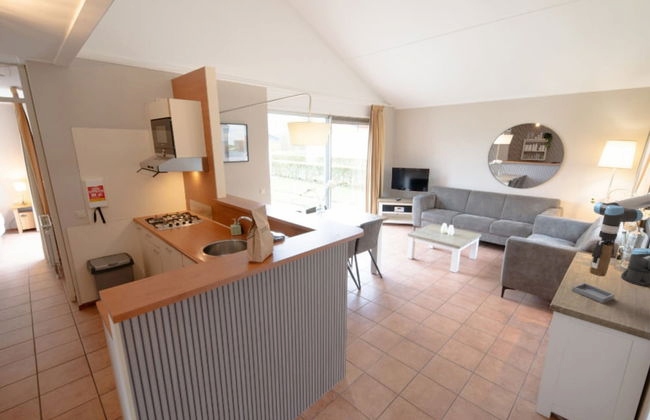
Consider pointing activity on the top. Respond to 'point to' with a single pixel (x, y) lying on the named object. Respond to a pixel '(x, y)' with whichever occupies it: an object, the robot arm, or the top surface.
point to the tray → (593, 293)
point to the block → (603, 261)
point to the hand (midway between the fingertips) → (599, 265)
